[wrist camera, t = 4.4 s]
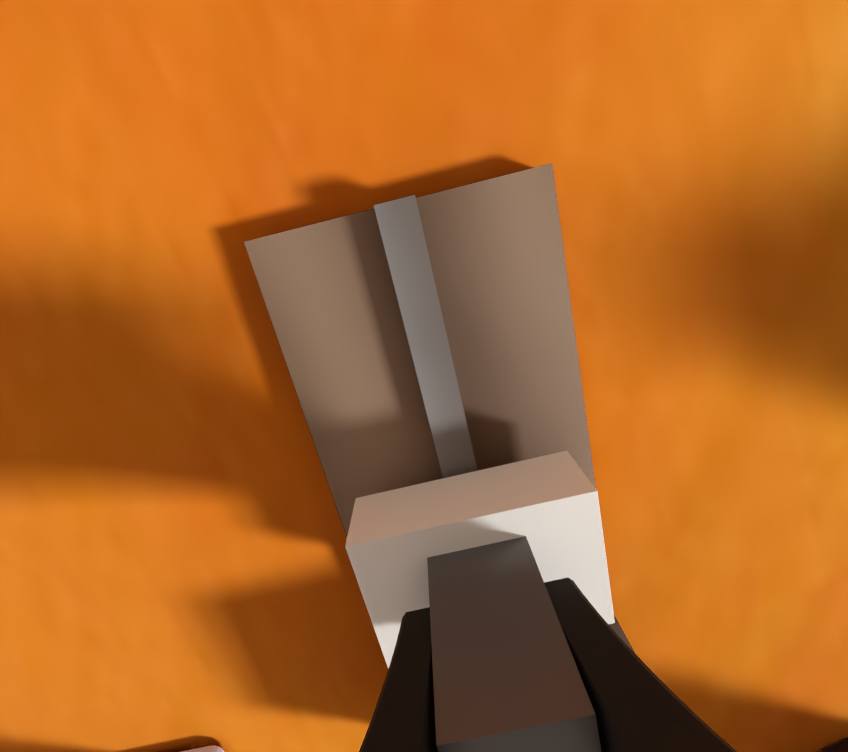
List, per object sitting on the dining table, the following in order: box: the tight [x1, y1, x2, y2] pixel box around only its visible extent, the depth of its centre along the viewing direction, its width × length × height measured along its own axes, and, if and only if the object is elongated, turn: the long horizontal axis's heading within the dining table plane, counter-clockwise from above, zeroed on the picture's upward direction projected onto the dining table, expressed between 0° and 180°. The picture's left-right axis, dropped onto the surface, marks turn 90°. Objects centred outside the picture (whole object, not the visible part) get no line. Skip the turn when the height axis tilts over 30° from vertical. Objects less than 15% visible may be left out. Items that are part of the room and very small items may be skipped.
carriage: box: [345, 451, 615, 752], centre depth 10 cm, size 6×4×6 cm, turn 103°
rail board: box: [244, 163, 635, 653], centre depth 12 cm, size 8×20×6 cm, turn 13°
